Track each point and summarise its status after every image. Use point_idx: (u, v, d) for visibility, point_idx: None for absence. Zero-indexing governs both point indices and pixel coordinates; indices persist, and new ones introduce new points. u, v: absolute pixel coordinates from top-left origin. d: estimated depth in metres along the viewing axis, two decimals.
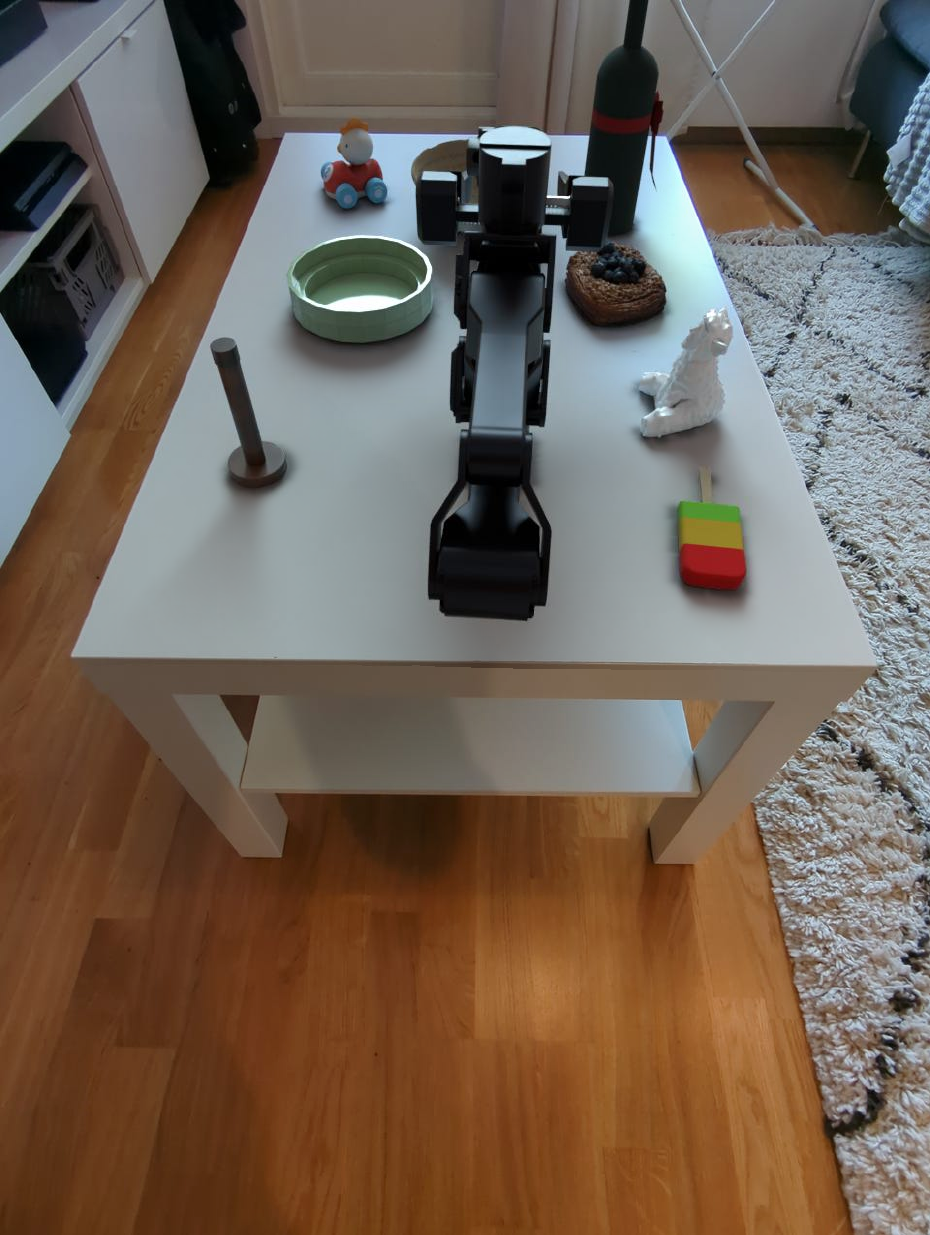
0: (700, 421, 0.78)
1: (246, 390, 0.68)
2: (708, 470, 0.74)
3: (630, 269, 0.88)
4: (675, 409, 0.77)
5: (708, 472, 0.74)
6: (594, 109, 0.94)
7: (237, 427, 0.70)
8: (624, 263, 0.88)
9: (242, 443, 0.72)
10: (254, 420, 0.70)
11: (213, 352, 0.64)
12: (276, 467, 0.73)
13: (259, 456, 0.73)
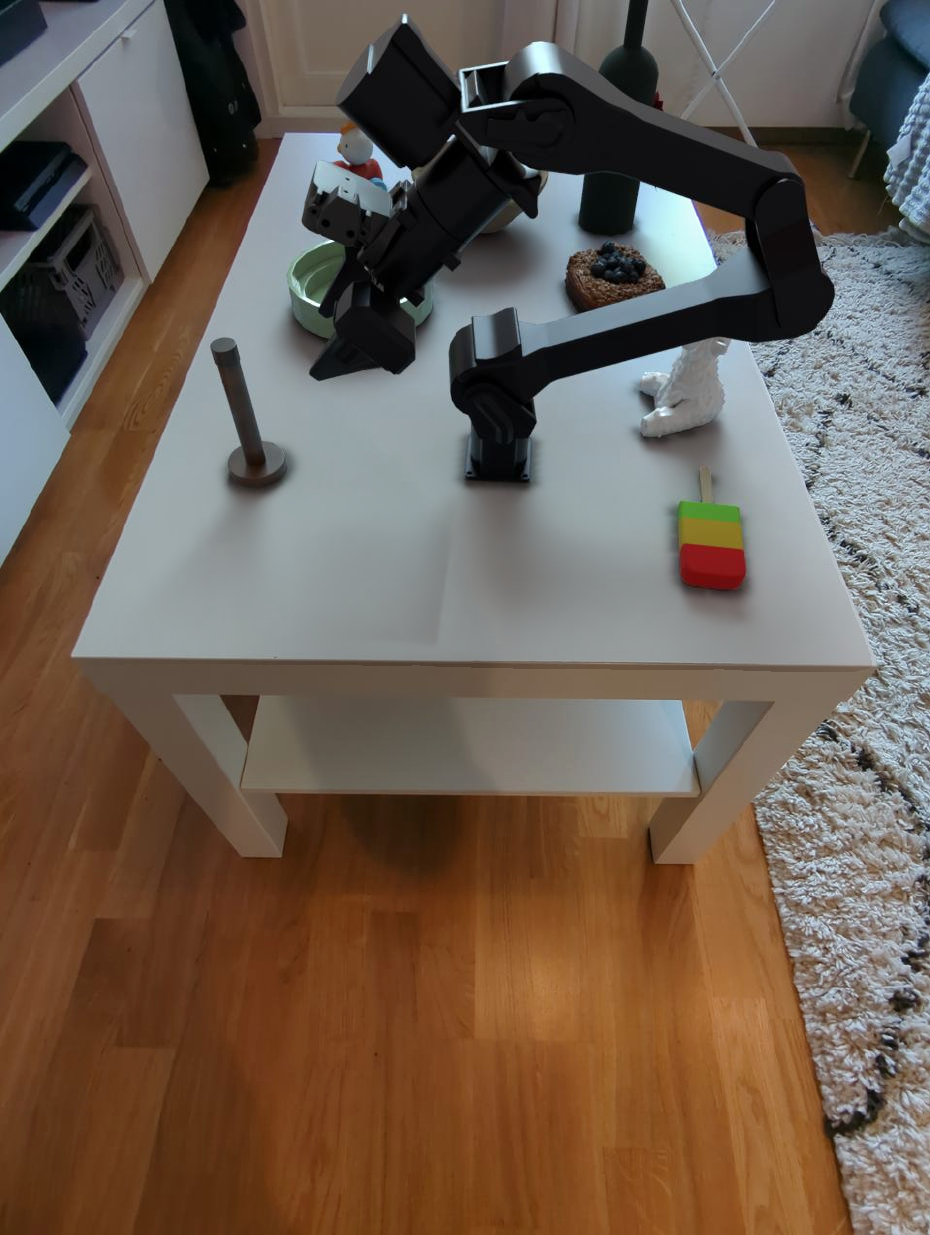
0: (699, 421, 0.78)
1: (246, 390, 0.68)
2: (708, 470, 0.74)
3: (630, 269, 0.88)
4: (675, 409, 0.77)
5: (708, 472, 0.74)
6: None
7: (237, 427, 0.70)
8: (624, 263, 0.88)
9: (242, 443, 0.72)
10: (254, 420, 0.70)
11: (213, 352, 0.64)
12: (276, 467, 0.73)
13: (259, 456, 0.73)
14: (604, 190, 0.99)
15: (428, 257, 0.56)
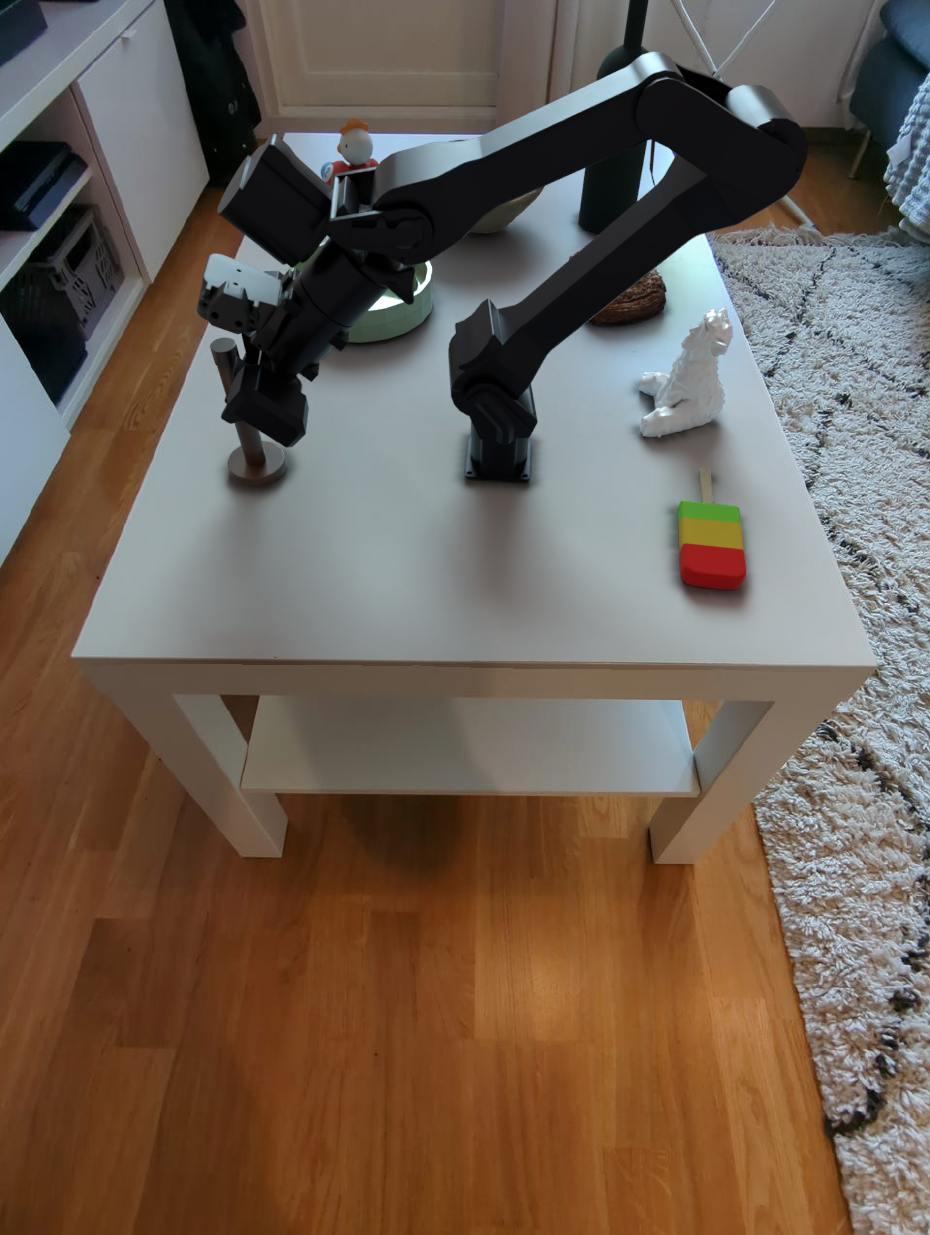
0: (699, 421, 0.78)
1: None
2: (708, 470, 0.74)
3: None
4: (675, 409, 0.77)
5: (708, 472, 0.74)
6: None
7: (237, 427, 0.70)
8: None
9: (242, 443, 0.72)
10: None
11: (213, 352, 0.64)
12: (276, 467, 0.73)
13: (259, 456, 0.73)
14: (604, 190, 0.99)
15: (315, 340, 0.61)
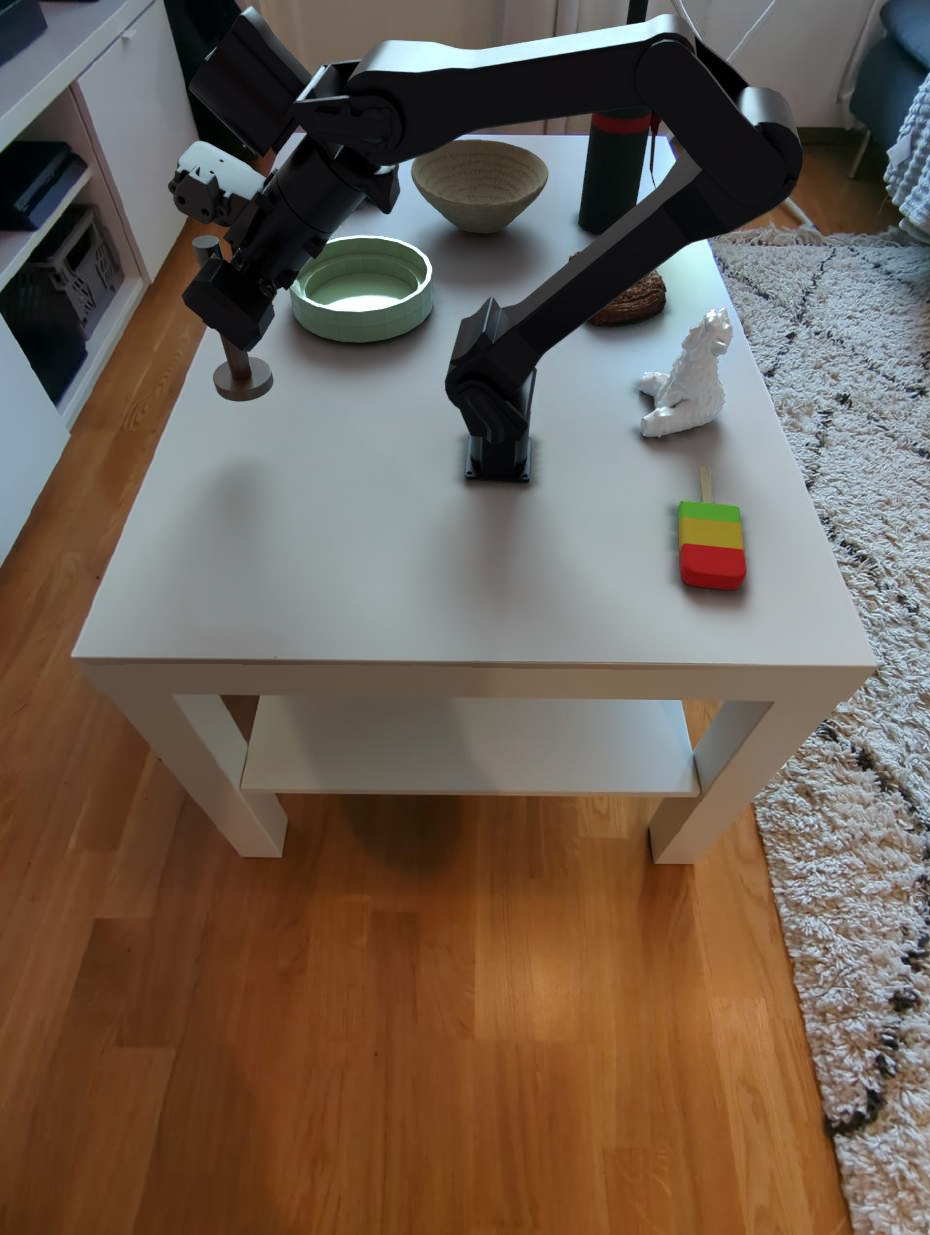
0: (700, 421, 0.78)
1: None
2: (708, 470, 0.74)
3: None
4: (675, 409, 0.77)
5: (708, 472, 0.74)
6: None
7: (220, 334, 0.68)
8: None
9: (226, 353, 0.70)
10: None
11: (193, 248, 0.62)
12: (258, 384, 0.71)
13: (243, 370, 0.71)
14: (604, 190, 0.99)
15: (288, 242, 0.58)
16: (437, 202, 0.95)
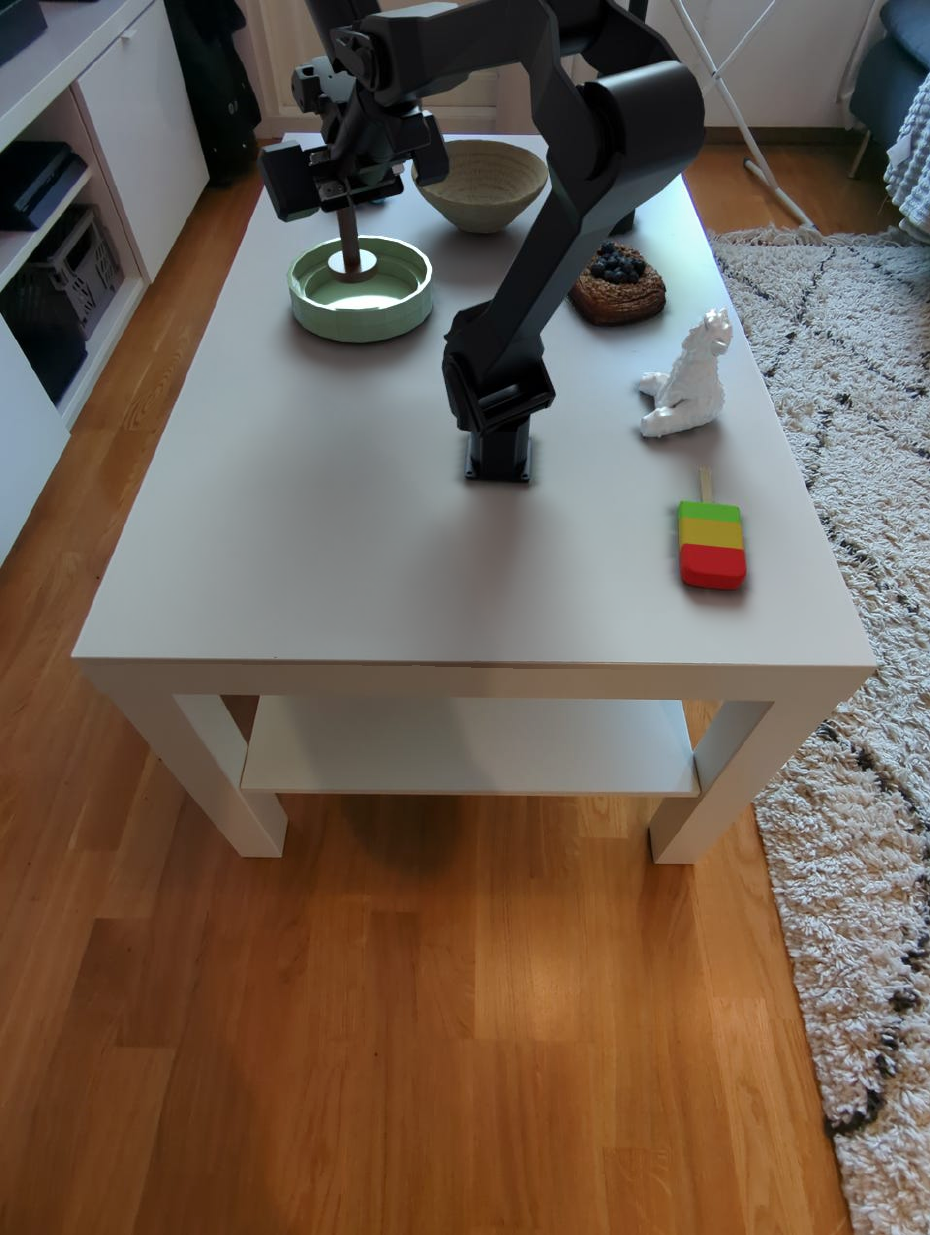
0: (699, 421, 0.78)
1: None
2: (708, 470, 0.74)
3: (630, 269, 0.88)
4: (675, 409, 0.77)
5: (708, 472, 0.74)
6: None
7: None
8: (624, 263, 0.88)
9: None
10: (348, 220, 0.81)
11: None
12: (349, 272, 0.84)
13: (347, 256, 0.84)
14: None
15: (344, 151, 0.68)
16: (437, 202, 0.95)
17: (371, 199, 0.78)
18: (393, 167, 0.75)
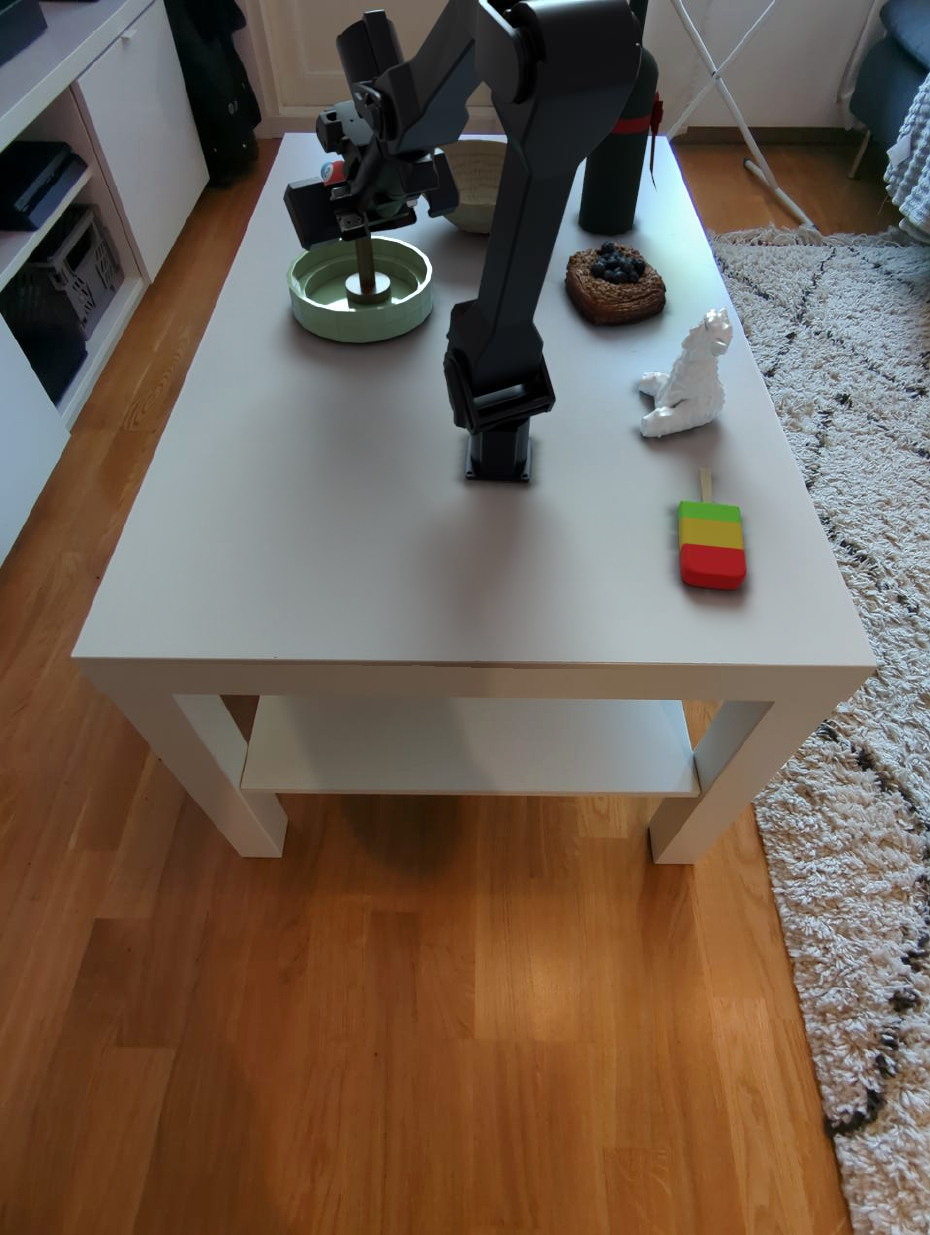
0: (699, 421, 0.78)
1: None
2: (708, 470, 0.74)
3: (630, 269, 0.88)
4: (675, 409, 0.77)
5: (708, 472, 0.74)
6: None
7: None
8: (624, 263, 0.88)
9: None
10: (365, 247, 0.88)
11: None
12: (365, 293, 0.91)
13: (363, 279, 0.91)
14: (604, 190, 0.99)
15: (363, 189, 0.75)
16: None
17: (386, 228, 0.84)
18: (407, 200, 0.81)
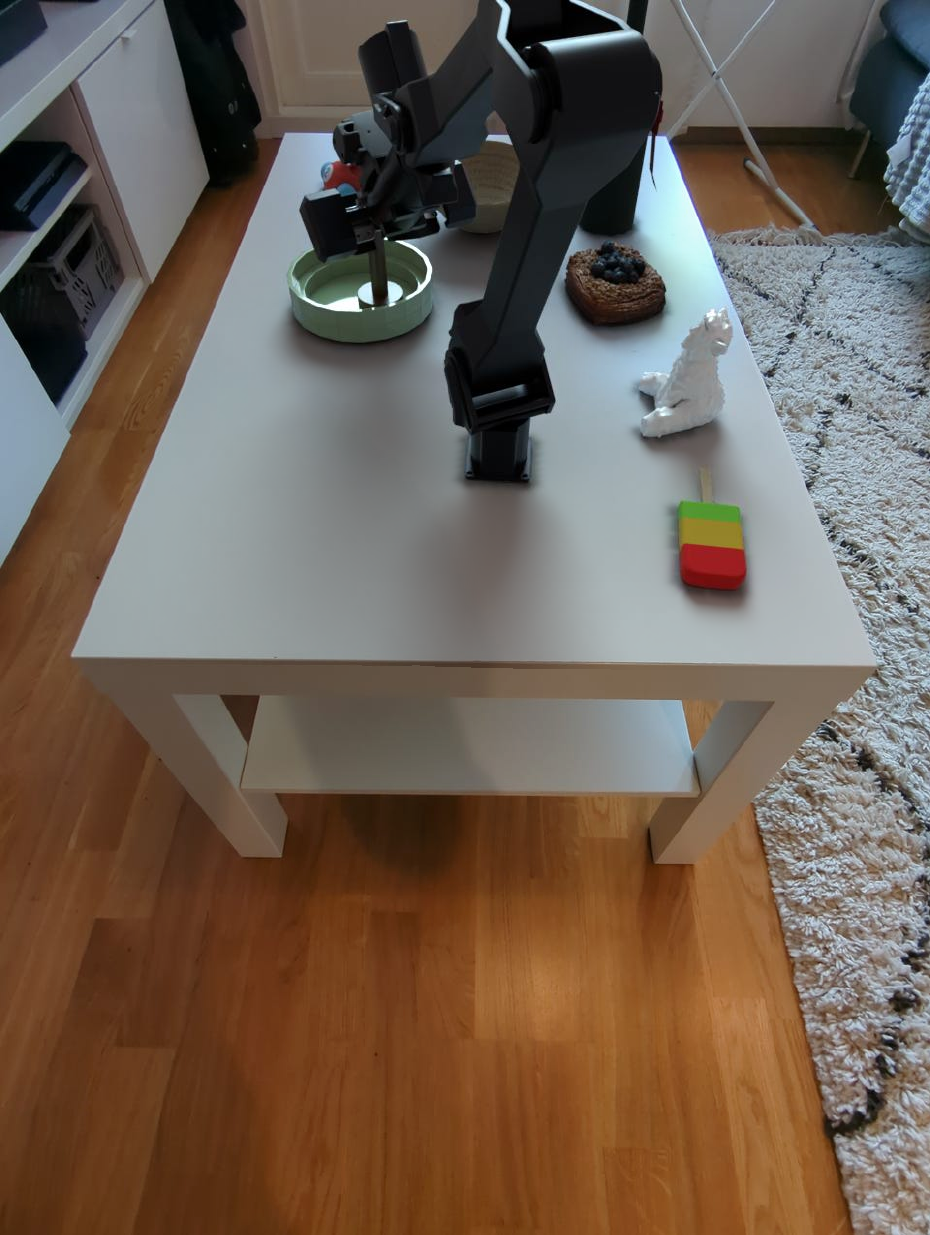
0: (700, 421, 0.78)
1: None
2: (708, 470, 0.74)
3: (630, 269, 0.88)
4: (675, 409, 0.77)
5: (708, 472, 0.74)
6: None
7: None
8: (624, 263, 0.88)
9: (370, 270, 0.89)
10: (378, 256, 0.87)
11: None
12: (378, 303, 0.90)
13: (376, 288, 0.90)
14: (604, 190, 0.99)
15: (381, 201, 0.74)
16: None
17: (409, 238, 0.84)
18: None
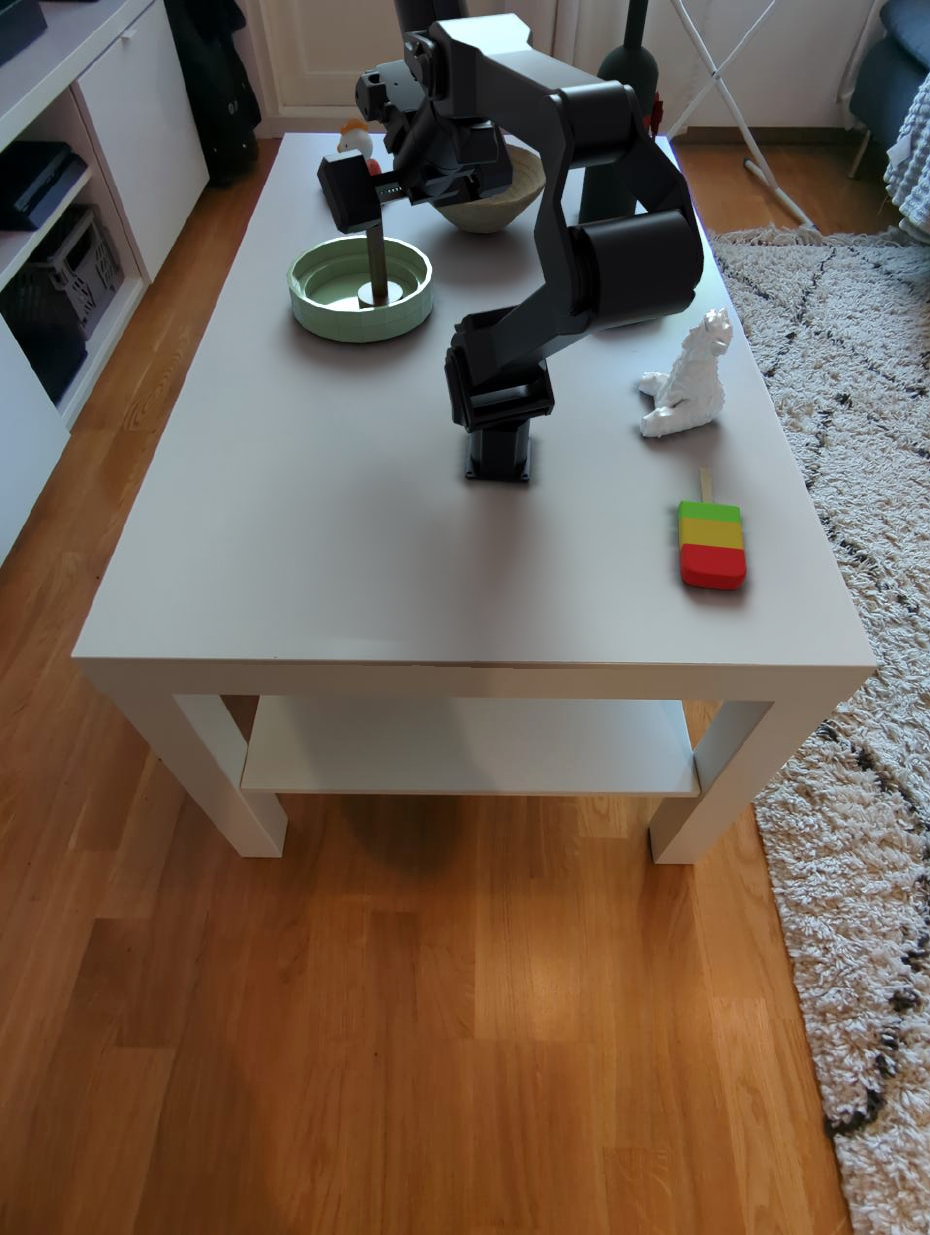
0: (700, 421, 0.78)
1: None
2: (708, 470, 0.74)
3: None
4: (675, 409, 0.77)
5: (708, 472, 0.74)
6: None
7: None
8: None
9: None
10: (378, 256, 0.87)
11: None
12: (378, 303, 0.90)
13: (376, 288, 0.90)
14: (604, 190, 0.99)
15: (410, 162, 0.66)
16: None
17: (460, 202, 0.76)
18: None
